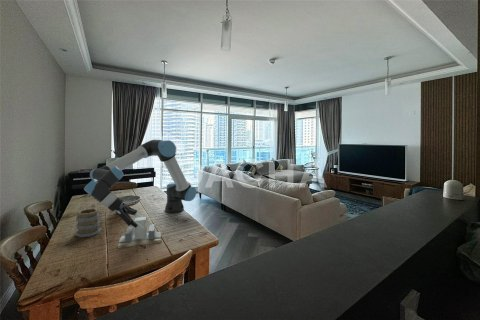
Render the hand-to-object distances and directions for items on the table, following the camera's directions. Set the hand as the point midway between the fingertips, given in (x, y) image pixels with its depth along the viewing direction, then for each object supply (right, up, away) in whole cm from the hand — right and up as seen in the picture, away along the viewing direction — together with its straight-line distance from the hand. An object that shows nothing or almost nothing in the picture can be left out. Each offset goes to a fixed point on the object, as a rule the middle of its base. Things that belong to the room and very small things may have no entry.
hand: (142, 225), depth 129 cm
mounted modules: (-1, -7, 0) cm, 7 cm away
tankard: (-39, -8, +13) cm, 42 cm away
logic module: (-1, -7, 0) cm, 7 cm away
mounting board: (-1, -9, +1) cm, 9 cm away
